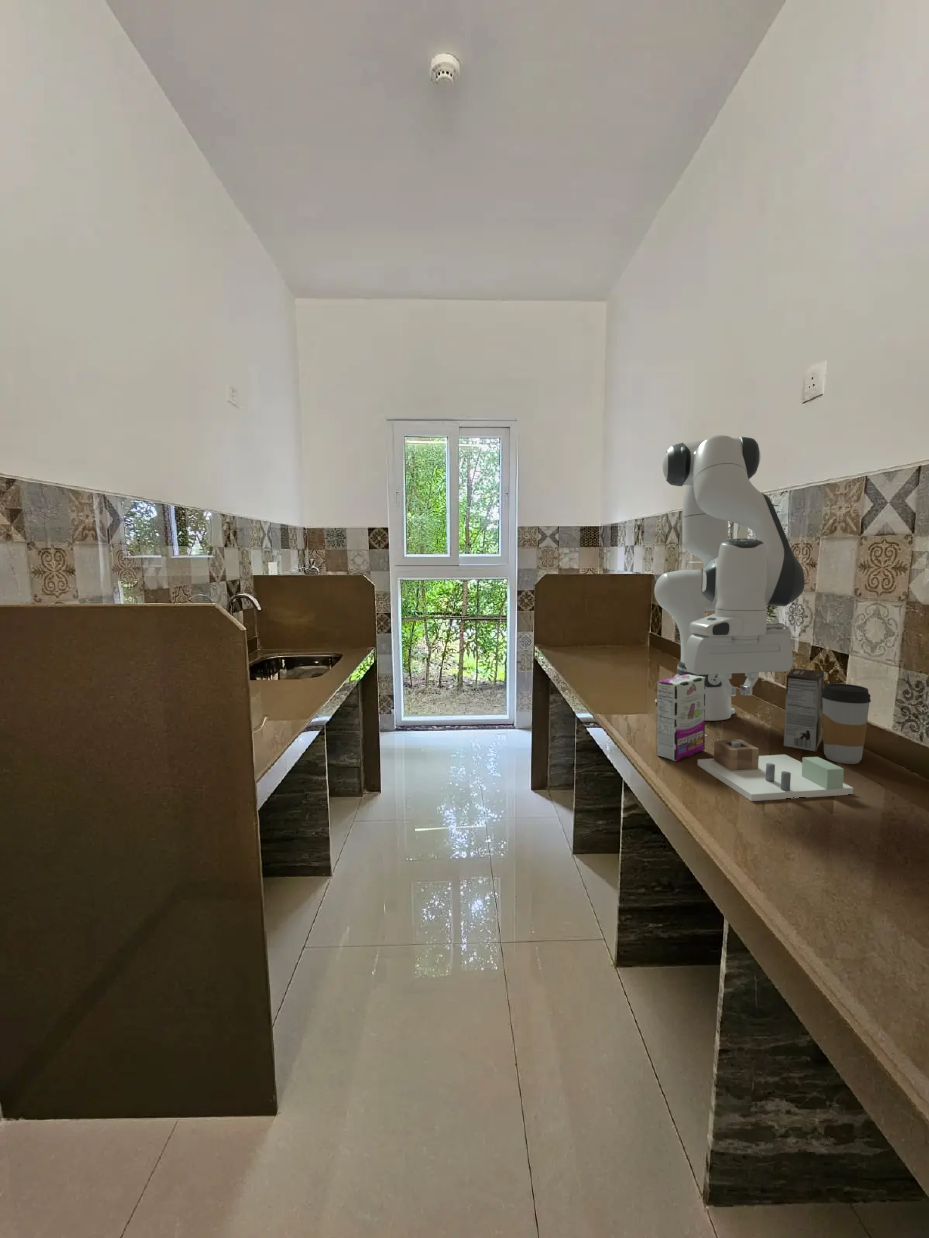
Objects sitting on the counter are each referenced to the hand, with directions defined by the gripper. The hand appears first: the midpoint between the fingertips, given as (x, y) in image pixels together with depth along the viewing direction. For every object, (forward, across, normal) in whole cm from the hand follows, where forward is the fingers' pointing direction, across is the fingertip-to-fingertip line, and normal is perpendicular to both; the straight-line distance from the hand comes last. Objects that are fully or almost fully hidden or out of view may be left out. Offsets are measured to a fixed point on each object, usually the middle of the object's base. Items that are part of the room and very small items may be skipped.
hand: (737, 695), depth 104 cm
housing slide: (+14, -10, +10) cm, 20 cm away
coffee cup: (+15, -26, -3) cm, 30 cm away
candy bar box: (+15, +6, -11) cm, 20 cm away
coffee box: (+15, -24, -13) cm, 32 cm away
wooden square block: (+14, 0, 0) cm, 14 cm away
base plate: (+15, -4, +4) cm, 16 cm away
